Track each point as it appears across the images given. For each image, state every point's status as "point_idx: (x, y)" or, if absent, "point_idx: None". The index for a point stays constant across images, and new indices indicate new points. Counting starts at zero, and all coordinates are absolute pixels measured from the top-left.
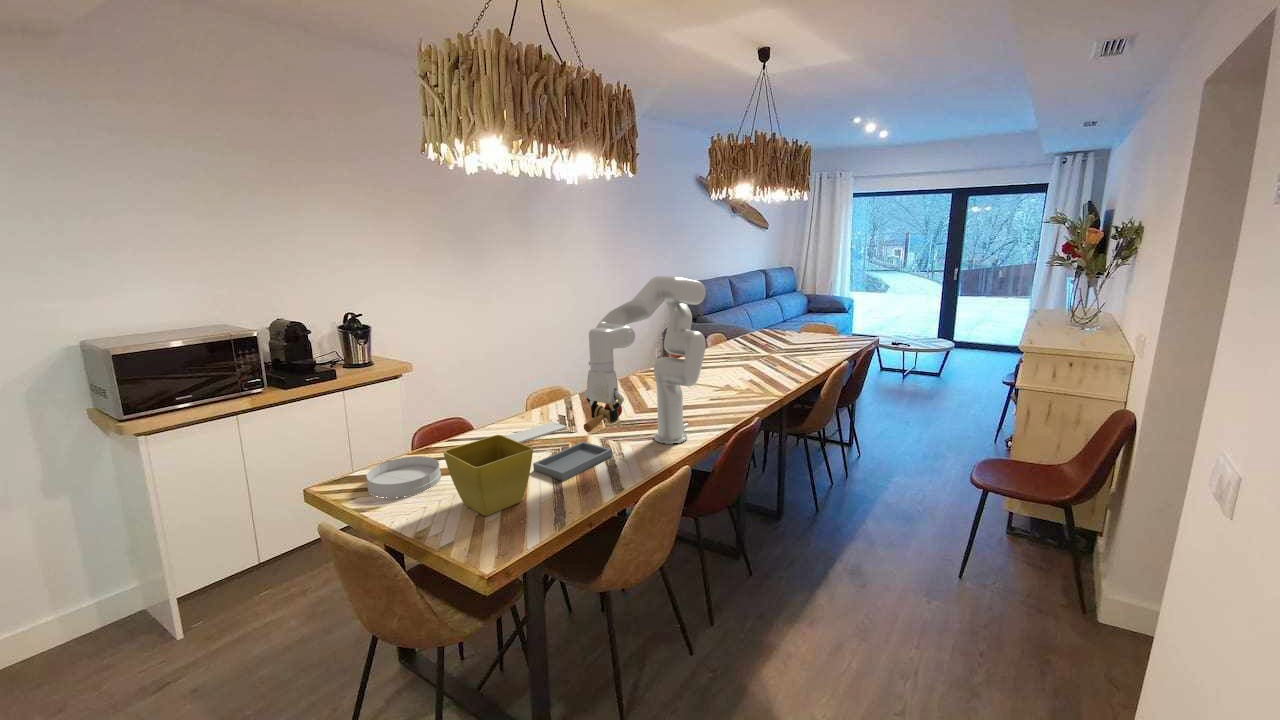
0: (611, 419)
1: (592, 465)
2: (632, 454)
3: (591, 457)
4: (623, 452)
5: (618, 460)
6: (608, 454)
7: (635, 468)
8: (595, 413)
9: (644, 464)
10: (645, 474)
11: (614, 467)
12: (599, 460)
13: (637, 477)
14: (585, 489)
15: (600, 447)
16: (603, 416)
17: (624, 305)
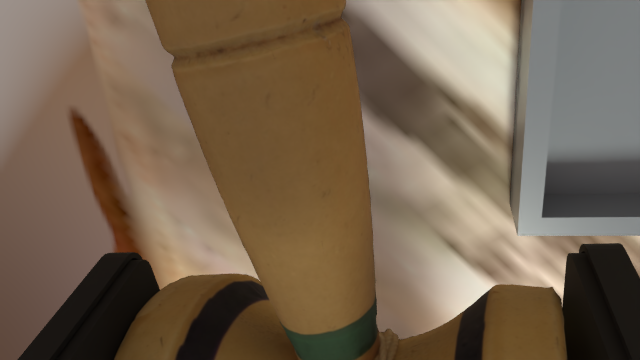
0: (83, 286)
1: (523, 3)
2: (424, 289)
3: (626, 98)
4: (493, 285)
5: (433, 186)
6: (516, 188)
7: None
8: (522, 335)
9: None
10: (153, 130)
11: (374, 93)
12: (520, 89)
13: (150, 71)
14: None
15: (627, 220)
16: (273, 307)
17: None
